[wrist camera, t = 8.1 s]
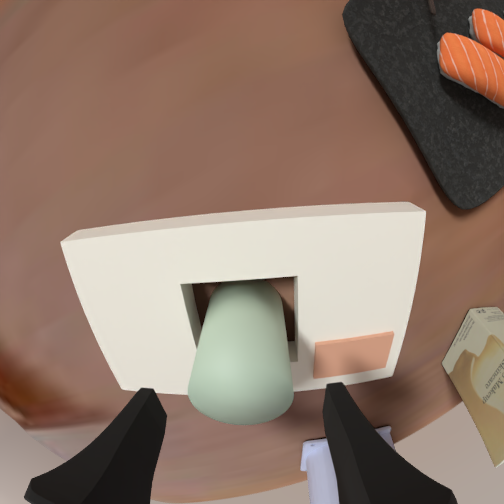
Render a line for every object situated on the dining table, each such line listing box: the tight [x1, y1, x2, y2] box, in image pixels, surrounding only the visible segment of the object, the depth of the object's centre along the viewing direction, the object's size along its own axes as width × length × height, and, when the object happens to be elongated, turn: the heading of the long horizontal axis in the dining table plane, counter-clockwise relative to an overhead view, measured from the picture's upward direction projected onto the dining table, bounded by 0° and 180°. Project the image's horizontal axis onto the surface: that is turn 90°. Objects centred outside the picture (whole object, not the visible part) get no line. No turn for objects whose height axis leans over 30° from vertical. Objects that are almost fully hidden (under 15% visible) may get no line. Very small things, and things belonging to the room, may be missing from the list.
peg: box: [188, 279, 294, 425], centre depth 14 cm, size 4×4×7 cm
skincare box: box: [442, 307, 504, 468], centre depth 13 cm, size 6×4×12 cm
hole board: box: [61, 202, 426, 395], centre depth 16 cm, size 20×12×2 cm, turn 95°
